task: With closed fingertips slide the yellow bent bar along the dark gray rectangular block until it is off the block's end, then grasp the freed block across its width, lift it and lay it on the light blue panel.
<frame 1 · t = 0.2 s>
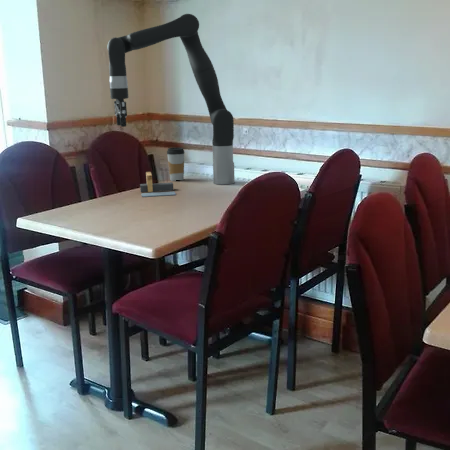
hand: (121, 125, 247), 28 cm above the table, fingers open, 8 cm apart
yellow bent bar: (149, 181, 248), point 4 cm above the table, slide at 0.0 cm
dark gray rectangular block: (156, 191, 248), on the table
coffee cup: (176, 180, 272), on the table
light blue panel: (158, 194, 239), on the table
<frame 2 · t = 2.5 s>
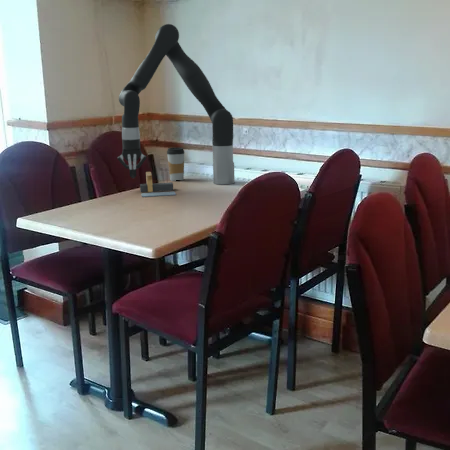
hand: (133, 177, 250), 5 cm above the table, fingers closed
nothing on the table moved.
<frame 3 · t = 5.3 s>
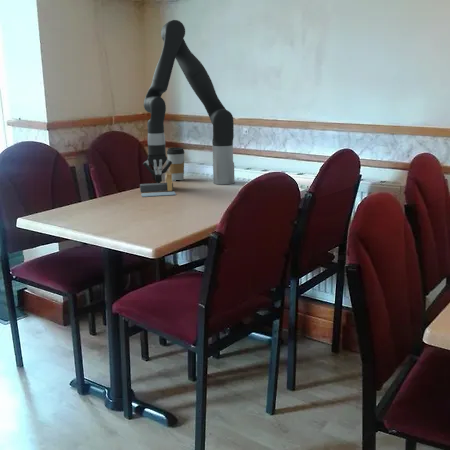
hand: (158, 182, 253), 2 cm above the table, fingers closed
yellow bent bar: (168, 180, 250), point 4 cm above the table, slide at 8.4 cm, touching hand
everything else where it was.
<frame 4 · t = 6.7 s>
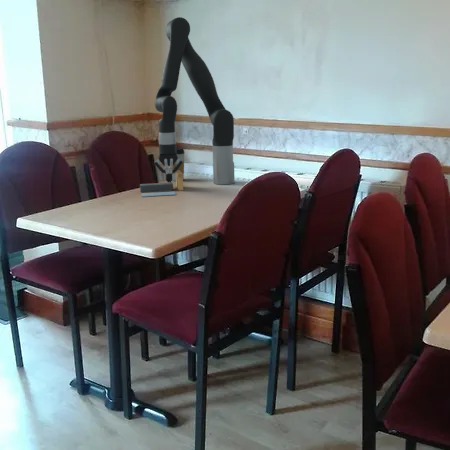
hand: (169, 182, 253), 3 cm above the table, fingers closed
yellow bent bar: (179, 180, 250), point 4 cm above the table, slide at 13.0 cm, touching gripper, hand
everything else where it was.
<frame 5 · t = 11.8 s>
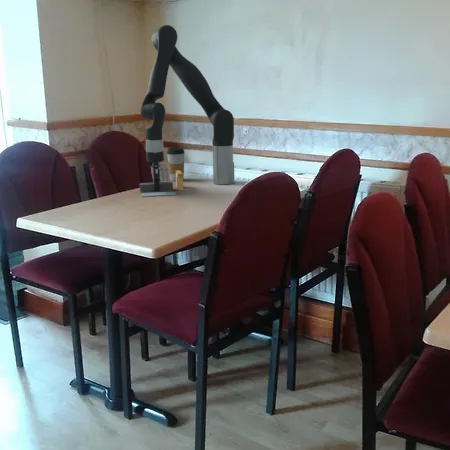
hand: (156, 189, 248), 0 cm above the table, fingers closed on dark gray rectangular block, 3 cm apart
yellow bent bar: (179, 180, 250), point 4 cm above the table, slide at 13.1 cm
dark gray rectangular block: (156, 190, 248), on the table, touching gripper
everything else where it was.
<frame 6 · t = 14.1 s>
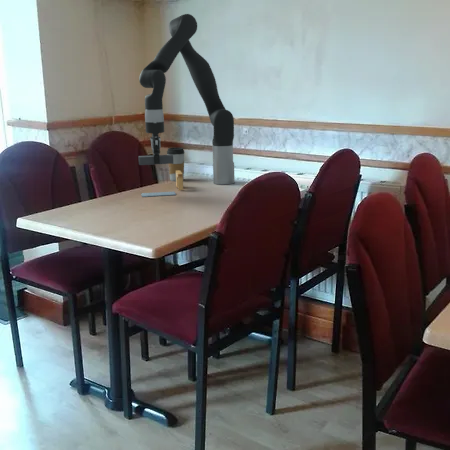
hand: (156, 162, 236), 13 cm above the table, fingers closed on dark gray rectangular block, 3 cm apart
dark gray rectangular block: (156, 163, 236), point 13 cm above the table, touching gripper
everything else where it was.
when the fingers open (1 cm above the table, at t = 16.9 s): dark gray rectangular block stays where it is, resting on light blue panel.
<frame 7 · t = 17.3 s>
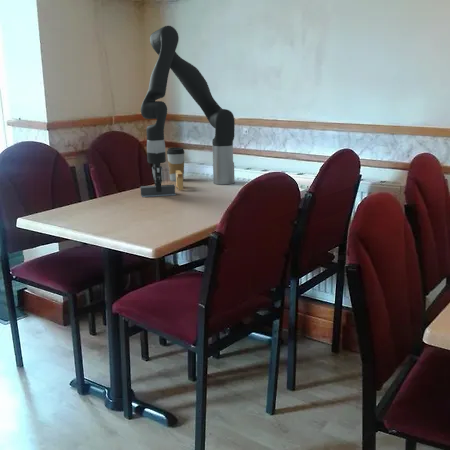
hand: (158, 190, 239), 2 cm above the table, fingers open, 7 cm apart
dark gray rectangular block: (157, 193, 239), resting on light blue panel
everything else where it was.
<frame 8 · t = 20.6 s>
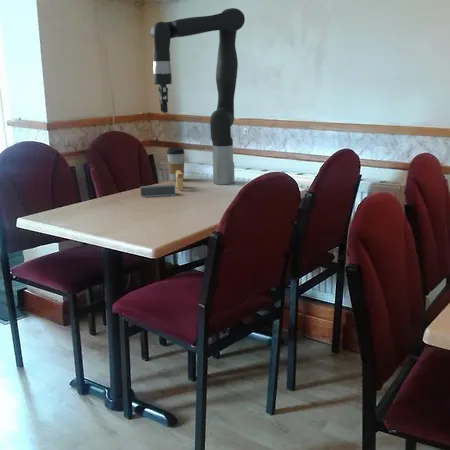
hand: (164, 112, 244), 33 cm above the table, fingers open, 8 cm apart
nothing on the table moved.
at the end: yellow bent bar slide at 13.1 cm; dark gray rectangular block inside the target area (0.2 cm from its centre), resting on light blue panel; the gripper is holding nothing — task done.
